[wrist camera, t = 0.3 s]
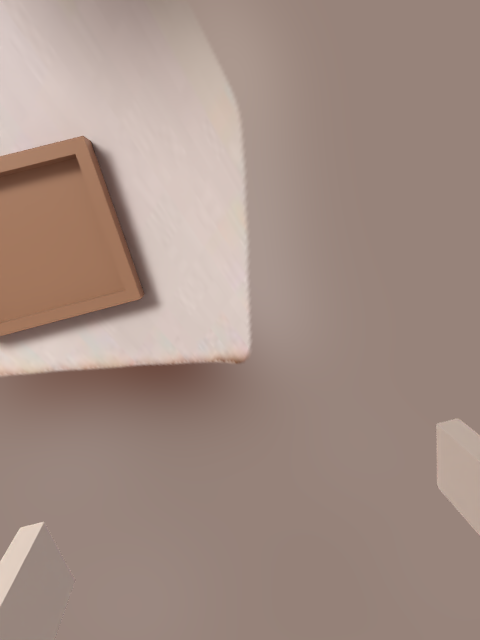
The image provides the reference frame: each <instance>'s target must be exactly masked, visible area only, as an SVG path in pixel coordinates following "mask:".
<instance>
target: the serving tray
mask: <svg viewBox="0 0 480 640" xmlns="http://www.w3.org/2000/svg"><path fill="white" fill-rule="evenodd" d="M143 296H144V292H143V289H142V286H141V284H140V281H139V278H138V275H137V272H136V269H135V266H134V264H133V261H132V258H131V255H130V252H129V249H128V246H127V244H126V241H125V238H124V235H123V232H122V229H121V226H120V224H119V221H118V218H117V215H116V212H115V209H114V206H113V204H112V201H111V198H110V195H109V192H108V189H107V186H106V184H105V181H104V178H103V175H102V172H101V169H100V166H99V164H98V161H97V158H96V155H95V152H94V149H93V146H92V144H91V141H90V140H89V139H87V138H86V137H84V136H81V137H77V138H73V139H68V140H64V141H60V142H56V143H52V144H48V145H44V146H40V147H36V148H32V149H28V150H24V151H20V152H16V153H12V154H8V155H4V156H0V336H3V335H7V334H10V333H14V332H18V331H22V330H25V329H29V328H33V327H37V326H41V325H44V324H48V323H52V322H56V321H59V320H63V319H67V318H71V317H75V316H78V315H82V314H86V313H90V312H93V311H97V310H101V309H105V308H109V307H112V306H116V305H120V304H124V303H127V302H131V301H135V300H139V299H141V298H142V297H143Z"/></svg>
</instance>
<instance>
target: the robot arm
mask: <svg viewBox="0 0 480 640" xmlns="http://www.w3.org/2000/svg"><path fill="white" fill-rule="evenodd" d="M436 426H437V429H436V430H437V487H438V488H439V489H440V491H441V492H442V493H443V494H444V495H445V496H446V497H447V499H448V500H449V501H450V502H451V503H452V504H453V506H454V507H455V508H456V509H457V510H458V511H459V513H460V514H461V515H462V516H463V517H464V518H465V519H466V521H467V522H468V523H469V524H470V525H471V526H472V527H473V529H474V530H475V531H476V532H477V533H478V534H479V535H480V435H479V434H477V433H476V432H475V431H474V430H472V429H471V428H470V427H469V426H467V425H466V424H465V423H464V422H462V421H461V420H460V419H458V418H457V419H453V420H449V421H445V422H441V423H437V425H436ZM74 583H75V578H74V576H73V575H72V573H71V571H70V569H69V567H68V565H67V563H66V561H65V559H64V558H63V556H62V554H61V552H60V550H59V548H58V546H57V544H56V543H55V541H54V539H53V537H52V535H51V533H50V531H49V530H48V528H47V526H46V524H45V522H41V523H37V524H33V525H29V526H25V527H21V528H20V529H19V531H18V533H17V534H16V536H15V537H14V539H13V541H12V543H11V544H10V546H9V548H8V550H7V551H6V553H5V554H4V556H3V558H2V560H1V561H0V640H55V638H56V635H57V632H58V629H59V626H60V623H61V620H62V618H63V615H64V612H65V609H66V606H67V603H68V600H69V597H70V594H71V592H72V589H73V586H74Z"/></svg>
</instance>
